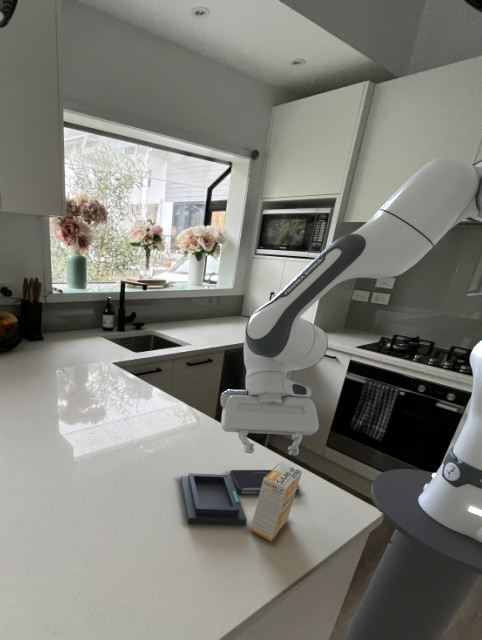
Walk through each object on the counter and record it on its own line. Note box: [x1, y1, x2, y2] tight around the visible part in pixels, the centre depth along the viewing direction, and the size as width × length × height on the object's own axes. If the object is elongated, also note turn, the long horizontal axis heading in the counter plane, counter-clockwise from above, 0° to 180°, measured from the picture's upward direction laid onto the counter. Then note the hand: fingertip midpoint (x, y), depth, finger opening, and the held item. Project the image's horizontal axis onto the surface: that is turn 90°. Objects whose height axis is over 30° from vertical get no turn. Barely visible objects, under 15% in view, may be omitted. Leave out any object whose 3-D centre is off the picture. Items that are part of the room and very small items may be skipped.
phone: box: [228, 469, 300, 495], centre depth 90 cm, size 8×1×15 cm
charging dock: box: [180, 472, 248, 526], centre depth 83 cm, size 12×14×3 cm
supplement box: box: [250, 461, 303, 542], centre depth 75 cm, size 8×5×13 cm, turn 139°
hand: (271, 453), depth 78 cm, fingers open, 8 cm apart
